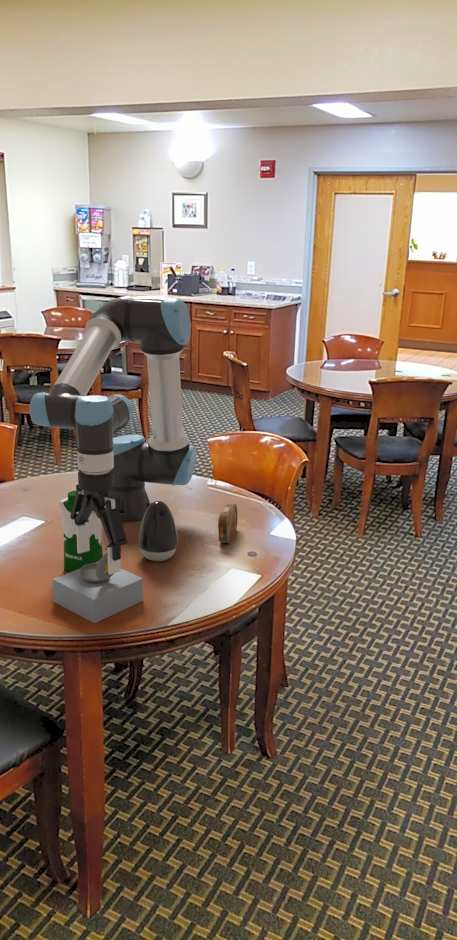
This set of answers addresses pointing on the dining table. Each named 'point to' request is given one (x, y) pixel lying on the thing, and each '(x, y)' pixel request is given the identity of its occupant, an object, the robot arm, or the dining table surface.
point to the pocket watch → (96, 570)
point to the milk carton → (70, 537)
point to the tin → (227, 523)
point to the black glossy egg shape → (158, 533)
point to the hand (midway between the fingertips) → (98, 561)
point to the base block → (97, 594)
